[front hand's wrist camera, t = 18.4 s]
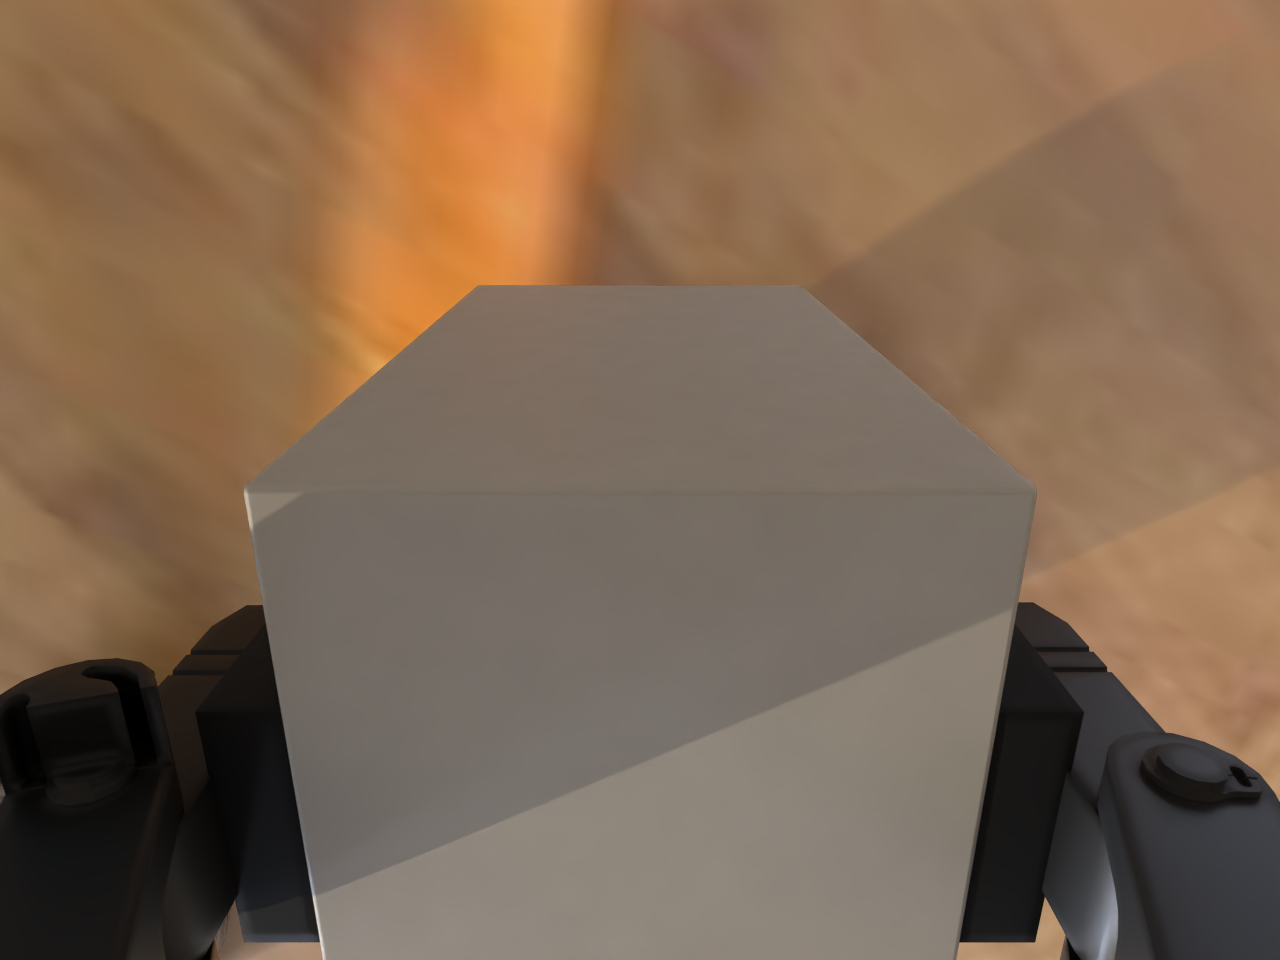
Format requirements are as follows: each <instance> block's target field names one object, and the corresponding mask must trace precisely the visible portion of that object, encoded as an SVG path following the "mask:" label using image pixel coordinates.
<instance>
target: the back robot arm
mask: <svg viewBox="0 0 1280 960" xmlns="http://www.w3.org/2000/svg"><path fill="white" fill-rule="evenodd" d="M4 796H5V792H4V789H3V786H2V782H1V779H0V804H1V802H2V800H3V798H4ZM226 929H227V915H226V917H225V919H224V921H223V923H222V925H221V926H220V928H219V930H218V932H217V934H216V936H215V940H216V944H217V948H218V953H219V952H220V951H221V948H222V945H223V942H224V939H225V934H226Z"/></svg>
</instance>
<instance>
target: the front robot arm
mask: <svg viewBox="0 0 1280 960" xmlns="http://www.w3.org/2000/svg"><path fill="white" fill-rule="evenodd" d="M0 779H1V782H2V786H3V789H4V792H5V796H4V798H3V800H2V802H1V804H0V960H220V958H219V953H218V948H217V944H216V940H215V936H216V934H217V932H218V930H219V928H220V926H221V925H222V923H223V921H224V919H225V917H226V915H227V913H228V912H229V910H230V908H231V906H232V904H233V902H234V900H235V901H236V906H237V910H238V915H239V920H240V924H241V929H242V934H243V938H244V942H320V938H319V932H318V926H317V920H316V914H315V908H314V902H313V896H312V891H311V885H310V879H309V873H308V867H307V861H306V855H305V849H304V844H303V838H302V832H301V826H300V820H299V814H298V808H297V802H296V797H295V791H294V785H293V779H292V773H291V767H290V761H289V755H288V749H287V744H286V738H285V732H284V726H283V720H282V714H281V708H280V702H279V697H278V691H277V685H276V679H275V673H274V667H273V661H272V655H271V650H270V644H269V638H268V632H267V626H266V620H265V614H264V608H263V605H247V606H245V607H243V608H242V609H240V610H238V611H237V612H235V613H233V614H232V615H230V616H228V617H227V618H225V619H223V620H221V621H220V622H218V623H216V624H215V625H213V626H212V627H211V628H210V629H209V630H208V631H207V632H206V634H205V635H204V636H203V637H202V638H201V639H200V640H199V641H198V643H197V644H196V645H195V646H194V647H193V648H192V649H191V654H190V655H186V656H185V657H184V658H183V659H182V661H181V662H180V663H179V664H178V665H177V666H176V667H175V669H174V670H173V675H168V676H167V677H166V679H165V680H164V681H163V682H162V683H161V684H160V685H159V686H158V687H157V683H156V678H155V674H154V671H152V670H151V669H149V668H148V667H147V666H145V665H144V664H143V663H141V662H137V661H131V660H125V659H119V658H114V659H98V660H87V661H83V662H78V663H74V664H70V665H66V666H61V667H57V668H54V669H51V670H49V671H46V672H44V673H41V674H39V675H36V676H34V677H31V678H29V679H26V680H24V681H22V682H20V683H19V684H17V685H16V686H14V687H12V688H11V689H9V690H7V691H6V692H4V693H3V694H1V695H0ZM1045 897H1046V899H1047V901H1048V903H1049V905H1050V906H1051V908H1052V910H1053V912H1054V914H1055V916H1056V918H1057V919H1058V921H1059V923H1060V925H1061V927H1062V929H1063V931H1064V932H1065V934H1066V935H1065V940H1064V944H1063V948H1062V953H1061V957H1060V960H1280V802H1279V800H1278V798H1277V796H1276V794H1275V793H1274V792H1273V790H1272V789H1271V788H1270V786H1269V785H1268V784H1267V783H1266V781H1265V780H1264V779H1263V778H1262V776H1261V775H1260V774H1259V773H1258V772H1256V771H1255V770H1253V769H1252V768H1251V767H1249V766H1248V765H1246V764H1245V763H1244V762H1242V761H1241V760H1240V759H1238V758H1237V757H1235V756H1234V755H1232V754H1229V753H1227V752H1225V751H1223V750H1221V749H1219V748H1216V747H1214V746H1212V745H1210V744H1208V743H1206V742H1203V741H1199V740H1196V739H1192V738H1188V737H1184V736H1181V735H1177V734H1173V733H1166V732H1165V731H1164V730H1163V729H1162V728H1161V727H1160V726H1159V725H1158V723H1157V722H1156V721H1155V720H1154V719H1153V718H1152V717H1151V716H1150V715H1149V713H1148V712H1147V711H1146V710H1145V709H1144V708H1143V707H1142V706H1141V704H1140V703H1139V702H1138V701H1137V700H1136V699H1135V698H1134V697H1133V696H1132V694H1131V693H1130V692H1129V691H1128V690H1127V689H1126V688H1125V687H1124V686H1123V684H1122V683H1121V682H1120V681H1119V680H1118V679H1117V678H1116V677H1115V675H1114V674H1113V673H1112V672H1107V667H1106V665H1105V664H1104V663H1103V662H1102V661H1101V660H1100V659H1099V658H1098V656H1097V655H1096V654H1095V653H1094V652H1089V646H1088V645H1087V644H1086V643H1085V642H1084V641H1083V640H1082V639H1081V638H1080V636H1079V635H1078V634H1077V633H1076V632H1075V631H1074V630H1073V629H1072V627H1071V626H1070V625H1069V624H1068V623H1067V622H1065V621H1063V620H1062V619H1060V618H1058V617H1057V616H1055V615H1053V614H1051V613H1050V612H1048V611H1046V610H1045V609H1043V608H1041V607H1040V606H1038V605H1036V604H1035V603H1033V602H1018V606H1017V612H1016V618H1015V623H1014V629H1013V635H1012V641H1011V646H1010V652H1009V658H1008V664H1007V669H1006V675H1005V681H1004V687H1003V692H1002V698H1001V704H1000V710H999V715H998V721H997V727H996V733H995V739H994V744H993V750H992V756H991V762H990V767H989V773H988V779H987V785H986V790H985V796H984V802H983V808H982V813H981V819H980V825H979V831H978V837H977V842H976V848H975V854H974V860H973V865H972V871H971V877H970V883H969V888H968V894H967V900H966V906H965V911H964V917H963V923H962V929H961V934H960V940H959V942H1035V940H1036V935H1037V931H1038V926H1039V921H1040V917H1041V912H1042V907H1043V903H1044V898H1045Z"/></svg>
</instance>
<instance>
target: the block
mask: <svg viewBox="0 0 1280 960" xmlns="http://www.w3.org/2000/svg"><path fill="white" fill-rule="evenodd" d="M244 497H245V503H246V509H247V514H248V520H249V526H250V532H251V538H252V544H253V550H254V556H255V561H256V567H257V573H258V579H259V585H260V591H261V597H262V603H263V608H264V614H265V620H266V626H267V632H268V638H269V644H270V650H271V655H272V661H273V667H274V673H275V679H276V685H277V691H278V697H279V702H280V708H281V714H282V720H283V726H284V732H285V738H286V744H287V749H288V755H289V761H290V767H291V773H292V779H293V785H294V791H295V797H296V802H297V808H298V814H299V820H300V826H301V832H302V838H303V844H304V849H305V855H306V861H307V867H308V873H309V879H310V885H311V891H312V896H313V902H314V908H315V914H316V920H317V926H318V932H319V938H320V943H321V949H322V955H323V960H956V958H957V952H958V946H959V940H960V934H961V929H962V923H963V917H964V911H965V906H966V900H967V894H968V888H969V883H970V877H971V871H972V865H973V860H974V854H975V848H976V842H977V837H978V831H979V825H980V819H981V813H982V808H983V802H984V796H985V790H986V785H987V779H988V773H989V767H990V762H991V756H992V750H993V744H994V739H995V733H996V727H997V721H998V715H999V710H1000V704H1001V698H1002V692H1003V687H1004V681H1005V675H1006V669H1007V664H1008V658H1009V652H1010V646H1011V641H1012V635H1013V629H1014V623H1015V618H1016V612H1017V606H1018V600H1019V594H1020V589H1021V583H1022V577H1023V571H1024V566H1025V560H1026V554H1027V548H1028V543H1029V537H1030V531H1031V525H1032V520H1033V514H1034V508H1035V502H1036V497H1037V491H1036V487H1035V485H1034V484H1032V483H1031V482H1030V481H1029V480H1028V479H1027V478H1025V477H1024V476H1023V475H1022V474H1021V473H1020V472H1018V471H1017V470H1016V469H1015V468H1014V467H1013V466H1011V465H1010V464H1009V463H1008V462H1007V461H1005V460H1004V459H1003V458H1002V457H1001V456H1000V455H998V454H997V453H996V452H995V451H994V450H993V449H991V448H990V447H989V446H988V445H987V444H986V443H984V442H983V441H982V440H981V439H980V438H979V437H977V436H976V435H975V434H974V433H973V432H972V431H970V430H969V429H968V428H967V427H966V426H964V425H963V424H962V423H961V422H960V421H959V420H957V419H956V418H955V417H954V416H953V415H952V414H950V413H949V412H948V411H947V410H946V409H945V408H943V407H942V406H941V405H940V404H939V403H938V402H936V401H935V400H934V399H933V398H932V397H930V396H929V395H928V394H927V393H926V392H925V391H923V390H922V389H921V388H920V387H919V386H918V385H916V384H915V383H914V382H913V381H912V380H911V379H909V378H908V377H907V376H906V375H905V374H904V373H902V372H901V371H900V370H899V369H898V368H897V367H895V366H894V365H893V364H892V363H891V362H889V361H888V360H887V359H886V358H885V357H884V356H882V355H881V354H880V353H879V352H878V351H877V350H875V349H874V348H873V347H872V346H871V345H870V344H868V343H867V342H866V341H865V340H864V339H863V338H861V337H860V336H859V335H858V334H857V333H855V332H854V331H853V330H852V329H851V328H850V327H848V326H847V325H846V324H845V323H844V322H843V321H841V320H840V319H839V318H838V317H837V316H836V315H834V314H833V313H832V312H831V311H830V310H829V309H827V308H826V307H825V306H824V305H823V304H822V303H820V302H819V301H818V300H817V299H816V298H814V297H813V296H812V295H811V294H810V293H809V292H807V291H806V290H805V289H804V288H803V287H801V286H511V285H479V286H477V287H476V288H474V289H473V290H472V291H471V292H470V293H469V294H468V295H466V296H465V297H464V298H463V299H462V300H461V301H459V302H458V303H457V304H456V305H455V306H454V307H452V308H451V309H450V310H449V311H448V312H447V313H445V314H444V315H443V316H442V317H441V318H440V319H438V320H437V321H436V322H435V323H434V324H433V325H431V326H430V327H429V328H428V329H427V330H426V331H424V332H423V333H422V334H421V335H420V336H419V337H418V338H416V339H415V340H414V341H413V342H412V343H411V344H409V345H408V346H407V347H406V348H405V349H404V350H402V351H401V352H400V353H399V354H398V355H397V356H395V357H394V358H393V359H392V360H391V361H390V362H388V363H387V364H386V365H385V366H384V367H383V368H381V369H380V370H379V371H378V372H377V373H376V374H374V375H373V376H372V377H371V378H370V379H369V380H368V381H366V382H365V383H364V384H363V385H362V386H361V387H359V388H358V389H357V390H356V391H355V392H354V393H352V394H351V395H350V396H349V397H348V398H347V399H345V400H344V401H343V402H342V403H341V404H340V405H338V406H337V407H336V408H335V409H334V410H333V411H331V412H330V413H329V414H328V415H327V416H326V417H324V418H323V419H322V420H321V421H320V422H319V423H317V424H316V425H315V426H314V427H313V428H312V429H311V430H309V431H308V432H307V433H306V434H305V435H304V436H302V437H301V438H300V439H299V440H298V441H297V442H295V443H294V444H293V445H292V446H291V447H290V448H288V449H287V450H286V451H285V452H284V453H283V454H281V455H280V456H279V457H278V458H277V459H276V460H274V461H273V462H272V463H271V464H270V465H269V466H267V467H266V468H265V469H264V470H263V471H262V472H261V473H259V474H258V475H257V476H256V477H255V478H254V479H252V480H251V481H250V482H249V483H248V484H247V485H246V486H245V489H244Z"/></svg>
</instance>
